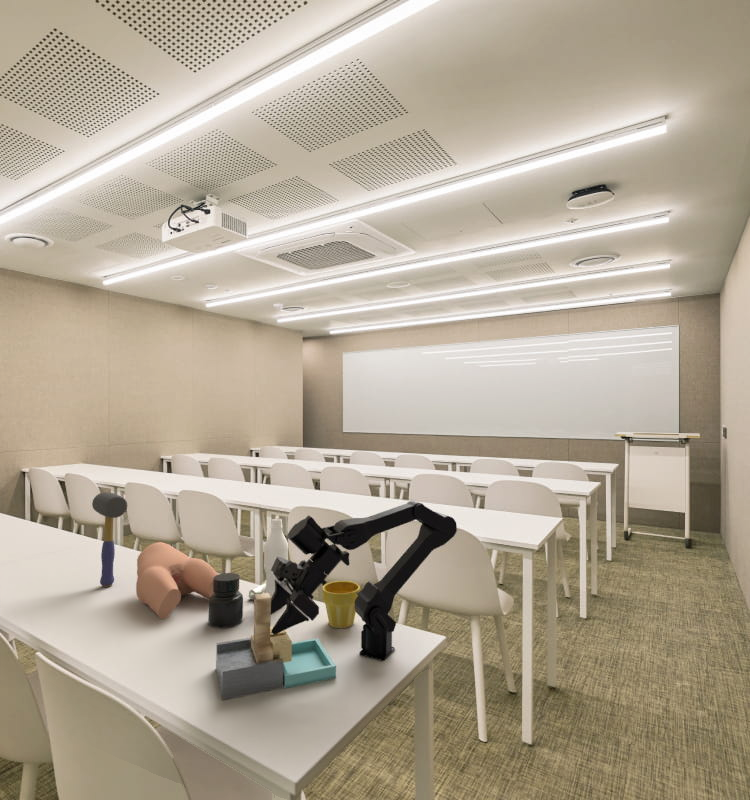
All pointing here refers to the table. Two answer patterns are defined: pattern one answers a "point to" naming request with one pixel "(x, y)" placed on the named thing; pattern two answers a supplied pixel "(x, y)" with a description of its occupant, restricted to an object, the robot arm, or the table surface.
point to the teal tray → (308, 664)
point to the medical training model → (170, 577)
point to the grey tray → (245, 670)
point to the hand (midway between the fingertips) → (268, 624)
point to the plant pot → (340, 602)
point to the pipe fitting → (257, 590)
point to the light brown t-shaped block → (262, 628)
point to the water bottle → (274, 553)
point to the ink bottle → (225, 601)
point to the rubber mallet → (108, 530)
